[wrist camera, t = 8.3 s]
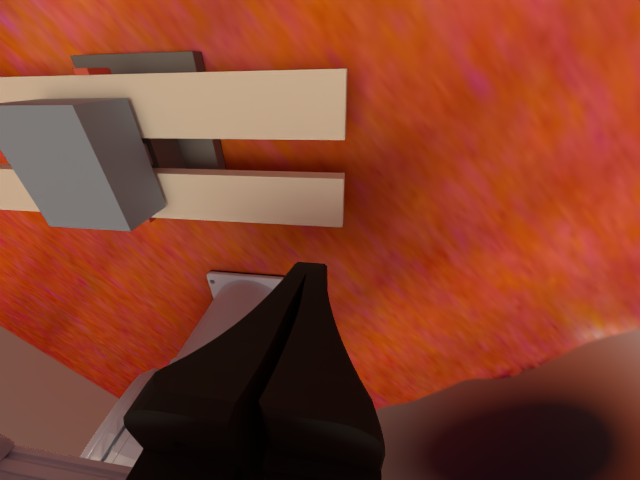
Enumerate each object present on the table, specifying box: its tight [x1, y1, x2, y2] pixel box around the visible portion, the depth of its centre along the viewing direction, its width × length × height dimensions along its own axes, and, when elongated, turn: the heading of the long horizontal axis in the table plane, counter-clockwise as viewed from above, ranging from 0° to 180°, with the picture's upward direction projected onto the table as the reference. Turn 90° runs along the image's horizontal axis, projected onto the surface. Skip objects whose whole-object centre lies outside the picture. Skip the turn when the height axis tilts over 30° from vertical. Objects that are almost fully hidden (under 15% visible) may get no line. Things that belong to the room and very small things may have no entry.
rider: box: [0, 98, 166, 231], centre depth 15 cm, size 5×6×4 cm
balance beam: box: [0, 51, 348, 227], centre depth 17 cm, size 26×10×5 cm, turn 91°
